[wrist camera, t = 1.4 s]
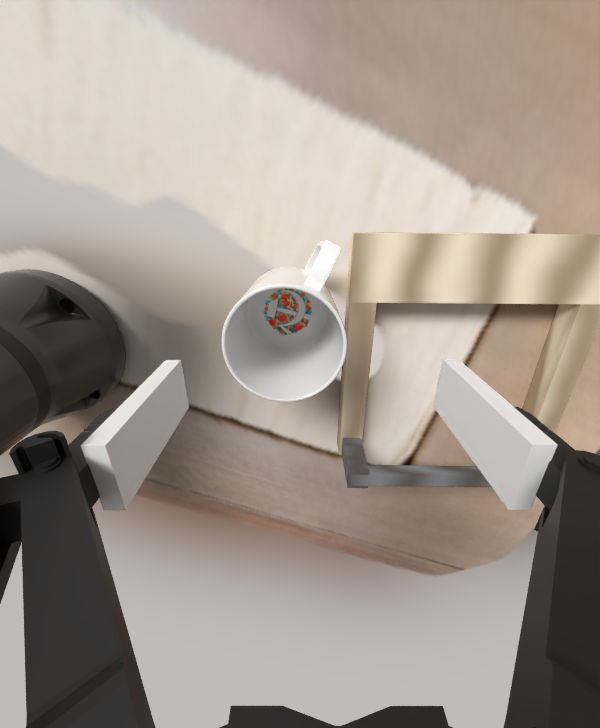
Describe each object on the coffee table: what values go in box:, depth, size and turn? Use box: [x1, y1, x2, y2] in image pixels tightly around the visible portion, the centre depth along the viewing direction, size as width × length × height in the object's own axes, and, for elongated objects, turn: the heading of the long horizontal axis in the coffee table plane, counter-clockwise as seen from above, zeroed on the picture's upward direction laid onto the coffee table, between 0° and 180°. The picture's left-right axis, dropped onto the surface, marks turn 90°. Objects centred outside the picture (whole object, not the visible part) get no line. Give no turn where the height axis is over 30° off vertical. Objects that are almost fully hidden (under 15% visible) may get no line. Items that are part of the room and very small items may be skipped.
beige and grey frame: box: [337, 233, 600, 488], centre depth 30 cm, size 24×24×8 cm
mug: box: [221, 240, 347, 402], centre depth 26 cm, size 12×9×11 cm
